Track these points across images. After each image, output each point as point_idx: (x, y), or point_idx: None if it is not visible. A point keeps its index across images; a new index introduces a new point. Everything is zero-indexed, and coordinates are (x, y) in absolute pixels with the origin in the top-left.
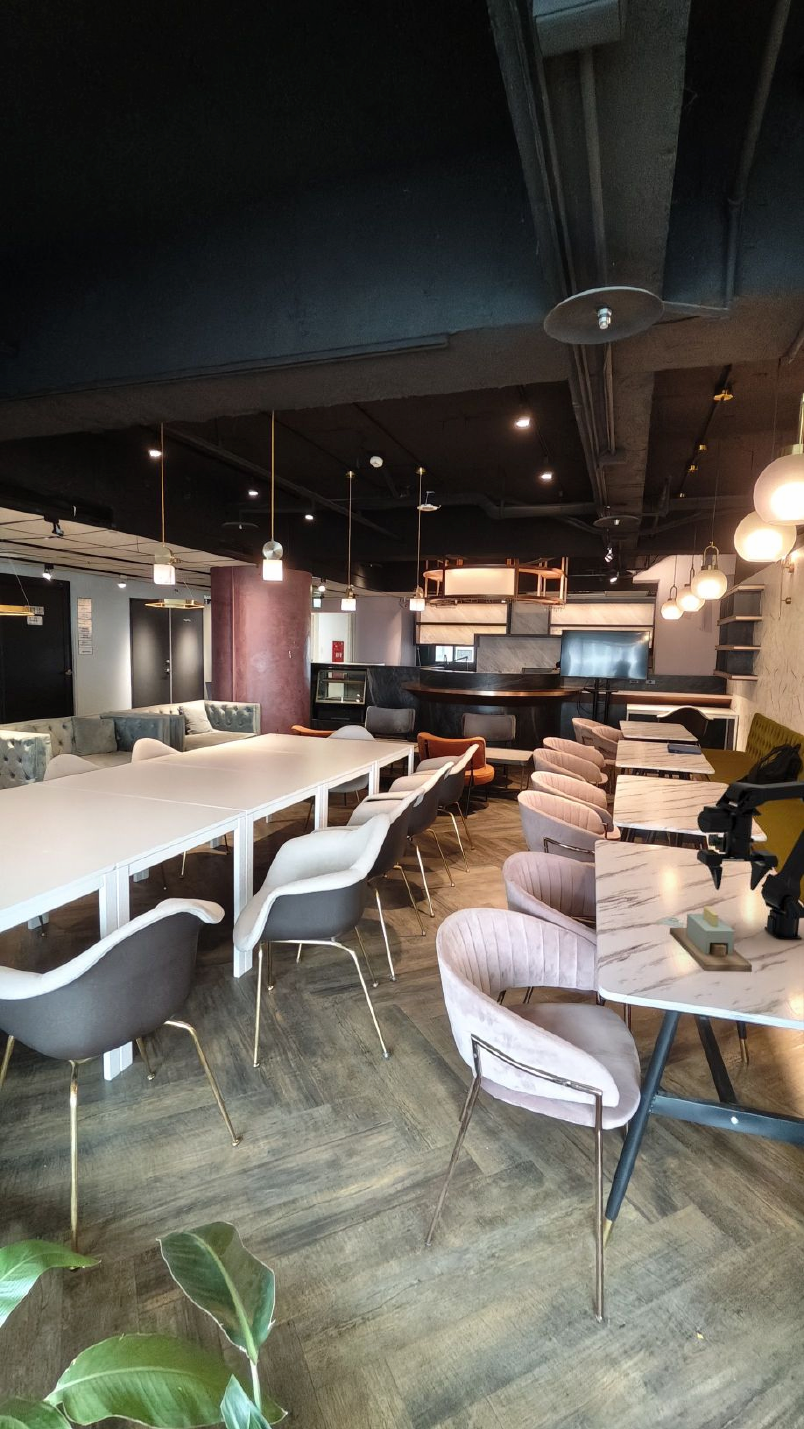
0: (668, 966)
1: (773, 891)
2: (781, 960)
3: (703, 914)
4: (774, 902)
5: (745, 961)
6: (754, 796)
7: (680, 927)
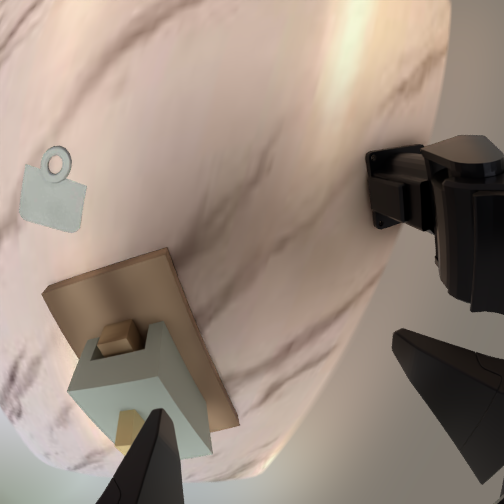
0: (84, 428)
1: (477, 283)
2: (325, 351)
3: (118, 422)
4: (444, 267)
5: (229, 418)
6: None
7: (73, 231)
